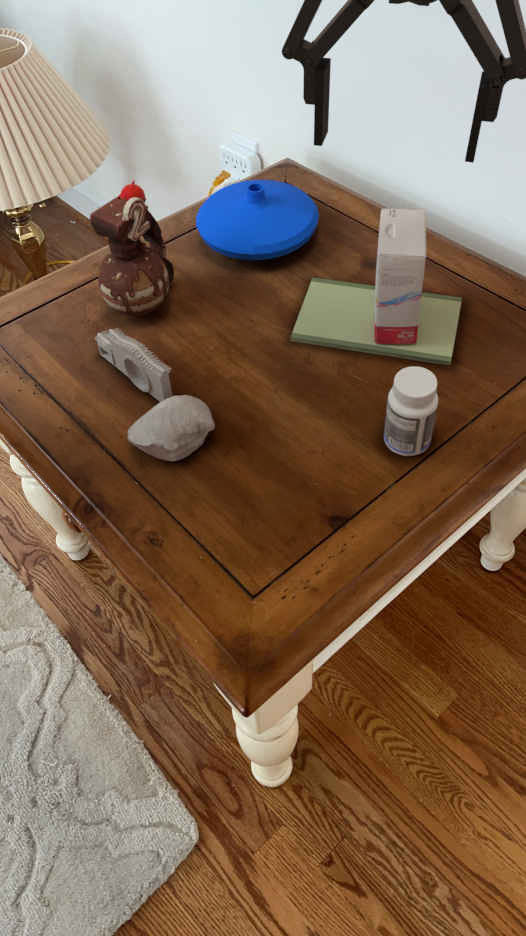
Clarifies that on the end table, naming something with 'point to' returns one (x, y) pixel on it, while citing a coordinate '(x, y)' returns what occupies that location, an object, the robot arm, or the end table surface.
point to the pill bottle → (411, 411)
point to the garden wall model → (136, 363)
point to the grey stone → (172, 428)
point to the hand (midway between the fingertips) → (394, 146)
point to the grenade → (132, 254)
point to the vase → (257, 219)
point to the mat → (352, 322)
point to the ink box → (399, 275)
